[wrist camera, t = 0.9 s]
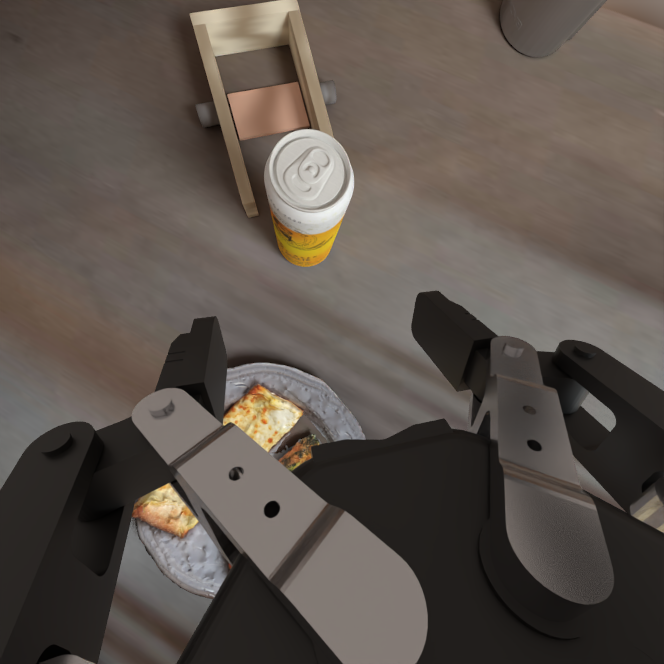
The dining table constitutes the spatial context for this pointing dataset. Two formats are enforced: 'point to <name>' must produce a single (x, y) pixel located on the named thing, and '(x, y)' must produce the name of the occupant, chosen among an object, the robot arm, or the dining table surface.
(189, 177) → the dining table surface
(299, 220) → the beer can
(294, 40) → the wooden stick frame
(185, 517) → the food plate
